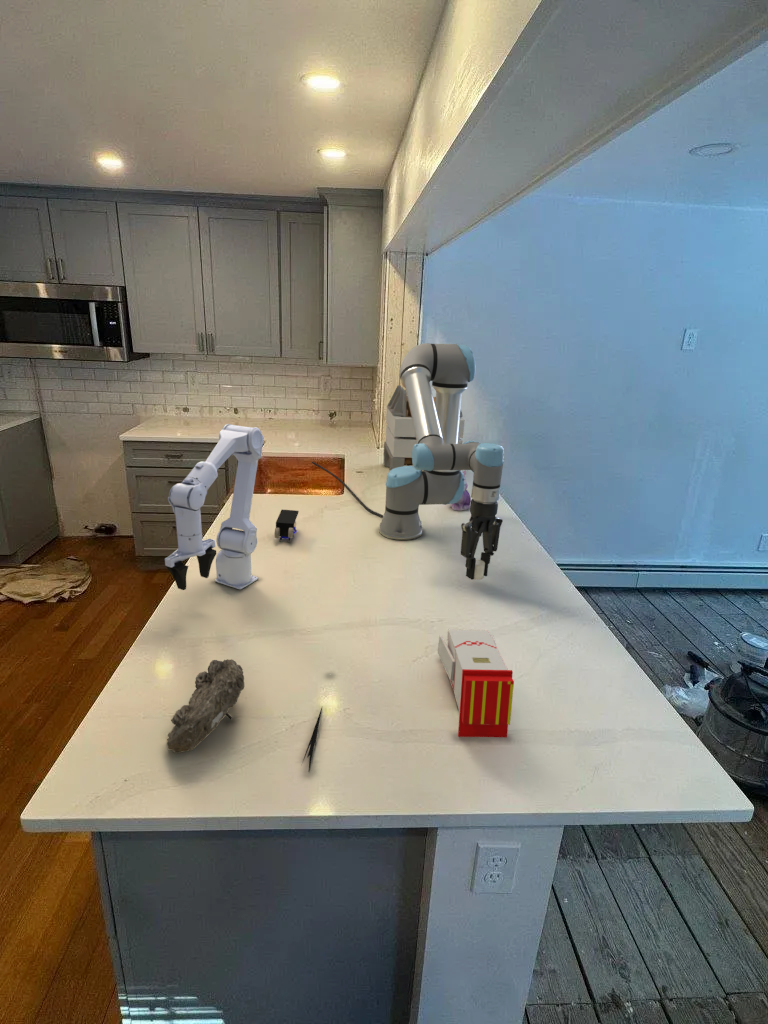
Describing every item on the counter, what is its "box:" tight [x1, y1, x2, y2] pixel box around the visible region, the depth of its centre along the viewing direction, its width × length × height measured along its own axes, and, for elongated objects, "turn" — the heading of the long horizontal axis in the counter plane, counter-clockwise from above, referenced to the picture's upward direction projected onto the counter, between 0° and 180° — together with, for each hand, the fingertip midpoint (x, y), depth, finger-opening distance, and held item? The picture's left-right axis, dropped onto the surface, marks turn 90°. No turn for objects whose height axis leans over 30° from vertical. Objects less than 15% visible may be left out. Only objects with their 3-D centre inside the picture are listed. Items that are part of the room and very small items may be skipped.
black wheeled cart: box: [273, 509, 300, 543], centre depth 192 cm, size 7×8×15 cm
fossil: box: [166, 658, 245, 754], centre depth 106 cm, size 22×10×15 cm
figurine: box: [449, 470, 472, 511], centre depth 227 cm, size 9×10×15 cm
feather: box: [301, 673, 332, 771], centre depth 108 cm, size 2×28×2 cm
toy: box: [437, 628, 515, 738], centre depth 117 cm, size 12×13×30 cm
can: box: [473, 558, 485, 581], centre depth 164 cm, size 4×4×4 cm
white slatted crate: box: [383, 384, 465, 472], centre depth 268 cm, size 34×33×41 cm
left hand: (193, 582), depth 141 cm, fingers open, 7 cm apart
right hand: (476, 575), depth 165 cm, fingers closed on can, 4 cm apart
